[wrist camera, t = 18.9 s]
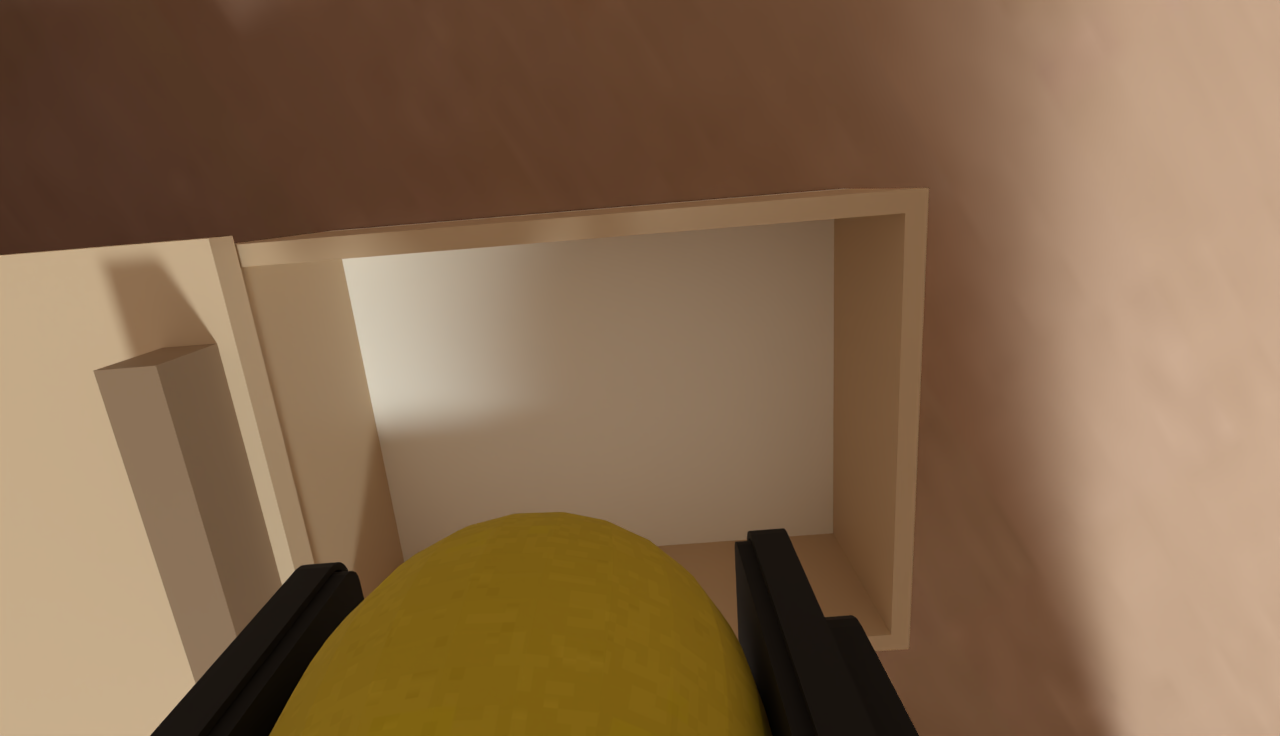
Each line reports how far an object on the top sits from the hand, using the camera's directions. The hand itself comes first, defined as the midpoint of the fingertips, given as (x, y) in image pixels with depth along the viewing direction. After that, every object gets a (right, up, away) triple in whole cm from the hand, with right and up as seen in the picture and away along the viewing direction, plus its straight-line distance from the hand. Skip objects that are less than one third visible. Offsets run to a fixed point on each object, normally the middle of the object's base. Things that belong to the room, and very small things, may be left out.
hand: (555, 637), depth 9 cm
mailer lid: (-15, 0, +6) cm, 17 cm away
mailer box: (0, +3, +12) cm, 12 cm away
